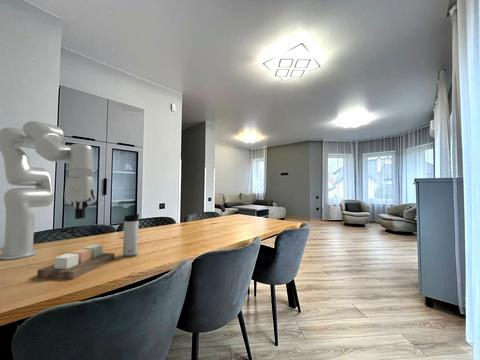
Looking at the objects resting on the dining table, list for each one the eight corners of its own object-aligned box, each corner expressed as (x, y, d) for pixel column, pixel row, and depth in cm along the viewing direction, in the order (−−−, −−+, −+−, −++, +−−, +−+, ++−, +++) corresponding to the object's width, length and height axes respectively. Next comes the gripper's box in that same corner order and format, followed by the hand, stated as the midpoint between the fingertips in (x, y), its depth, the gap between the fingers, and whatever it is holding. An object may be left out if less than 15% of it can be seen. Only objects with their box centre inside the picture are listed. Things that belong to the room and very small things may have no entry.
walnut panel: (37, 276, 78) (37, 269, 78) (85, 257, 99) (86, 252, 100) (73, 279, 76) (73, 271, 76) (114, 258, 98) (114, 253, 98)
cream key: (54, 268, 79) (54, 257, 79) (66, 263, 84) (66, 253, 84) (66, 269, 79) (67, 258, 79) (78, 264, 84) (78, 254, 84)
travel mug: (131, 257, 100) (133, 214, 101) (119, 256, 101) (121, 214, 102) (140, 253, 106) (142, 213, 107) (129, 252, 108) (130, 212, 108)
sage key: (82, 257, 92) (83, 247, 92) (91, 253, 97) (92, 244, 97) (93, 257, 92) (94, 248, 92) (102, 254, 97) (102, 245, 97)
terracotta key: (69, 262, 86) (70, 252, 86) (79, 258, 91) (80, 248, 91) (81, 263, 85) (81, 252, 85) (91, 259, 90) (91, 249, 90)
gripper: (56, 173, 86) (54, 219, 85) (90, 173, 85) (89, 219, 84) (72, 175, 94) (71, 217, 93) (104, 174, 92) (103, 217, 92)
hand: (80, 218), depth 88 cm, fingers closed
